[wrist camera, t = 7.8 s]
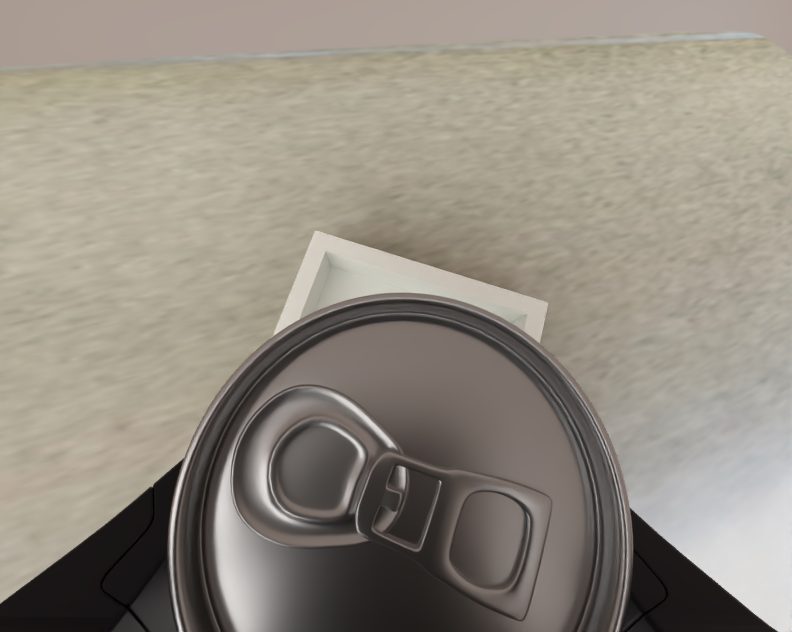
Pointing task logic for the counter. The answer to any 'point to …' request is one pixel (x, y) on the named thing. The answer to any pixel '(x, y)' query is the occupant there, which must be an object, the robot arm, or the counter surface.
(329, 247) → the tray
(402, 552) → the can
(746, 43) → the counter surface
